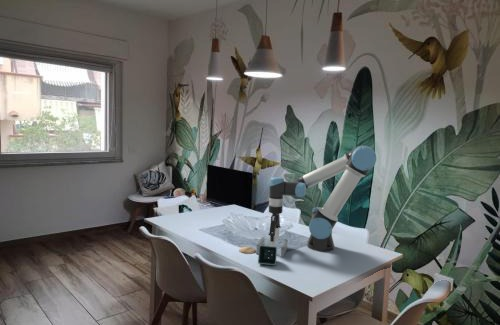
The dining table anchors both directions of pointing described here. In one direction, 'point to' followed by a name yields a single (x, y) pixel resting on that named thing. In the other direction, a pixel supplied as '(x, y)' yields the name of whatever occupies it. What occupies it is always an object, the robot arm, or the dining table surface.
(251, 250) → the cork mat
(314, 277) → the dining table surface
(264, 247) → the flower pot
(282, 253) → the grey holder
